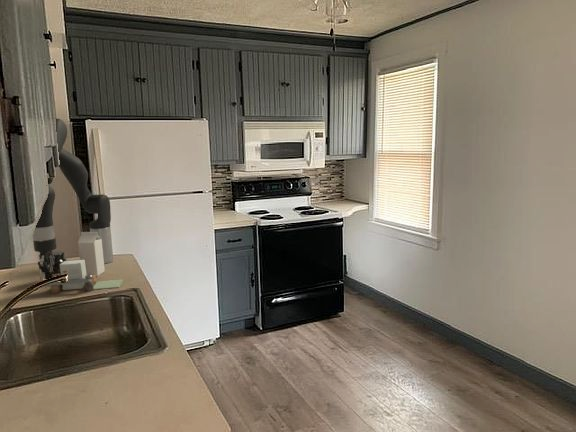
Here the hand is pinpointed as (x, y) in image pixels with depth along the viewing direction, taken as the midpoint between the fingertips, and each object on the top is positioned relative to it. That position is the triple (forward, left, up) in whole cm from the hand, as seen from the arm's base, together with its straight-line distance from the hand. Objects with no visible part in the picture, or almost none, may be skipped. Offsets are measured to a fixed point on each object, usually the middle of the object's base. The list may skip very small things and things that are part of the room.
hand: (49, 281), depth 168 cm
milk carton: (-20, +12, -4) cm, 24 cm away
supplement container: (-14, -2, -4) cm, 15 cm away
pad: (-1, +21, -4) cm, 21 cm away
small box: (-2, +9, -4) cm, 10 cm away
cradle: (-2, +9, -4) cm, 10 cm away
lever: (+4, +7, 0) cm, 8 cm away
